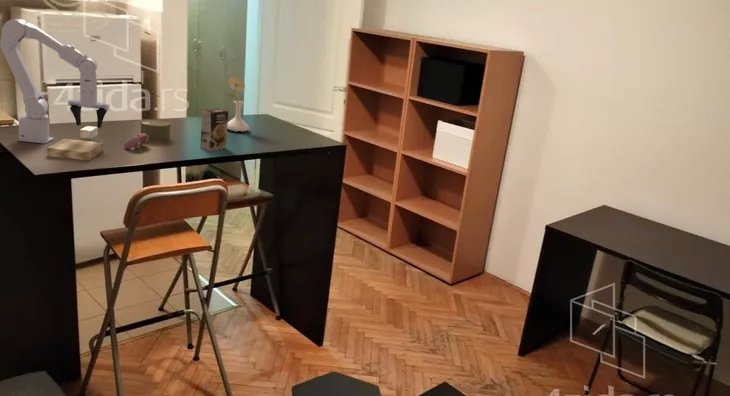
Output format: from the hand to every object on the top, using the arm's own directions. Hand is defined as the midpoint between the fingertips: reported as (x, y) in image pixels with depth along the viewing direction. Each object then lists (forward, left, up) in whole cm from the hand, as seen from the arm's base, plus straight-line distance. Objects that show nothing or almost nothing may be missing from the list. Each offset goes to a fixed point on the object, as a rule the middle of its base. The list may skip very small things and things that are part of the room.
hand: (89, 126), depth 224 cm
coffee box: (+45, +14, -7) cm, 48 cm away
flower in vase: (+49, +51, -7) cm, 71 cm away
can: (+20, +19, -7) cm, 28 cm away
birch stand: (+1, -15, -7) cm, 16 cm away
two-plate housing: (0, 0, -7) cm, 7 cm away
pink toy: (+18, +2, -7) cm, 19 cm away
